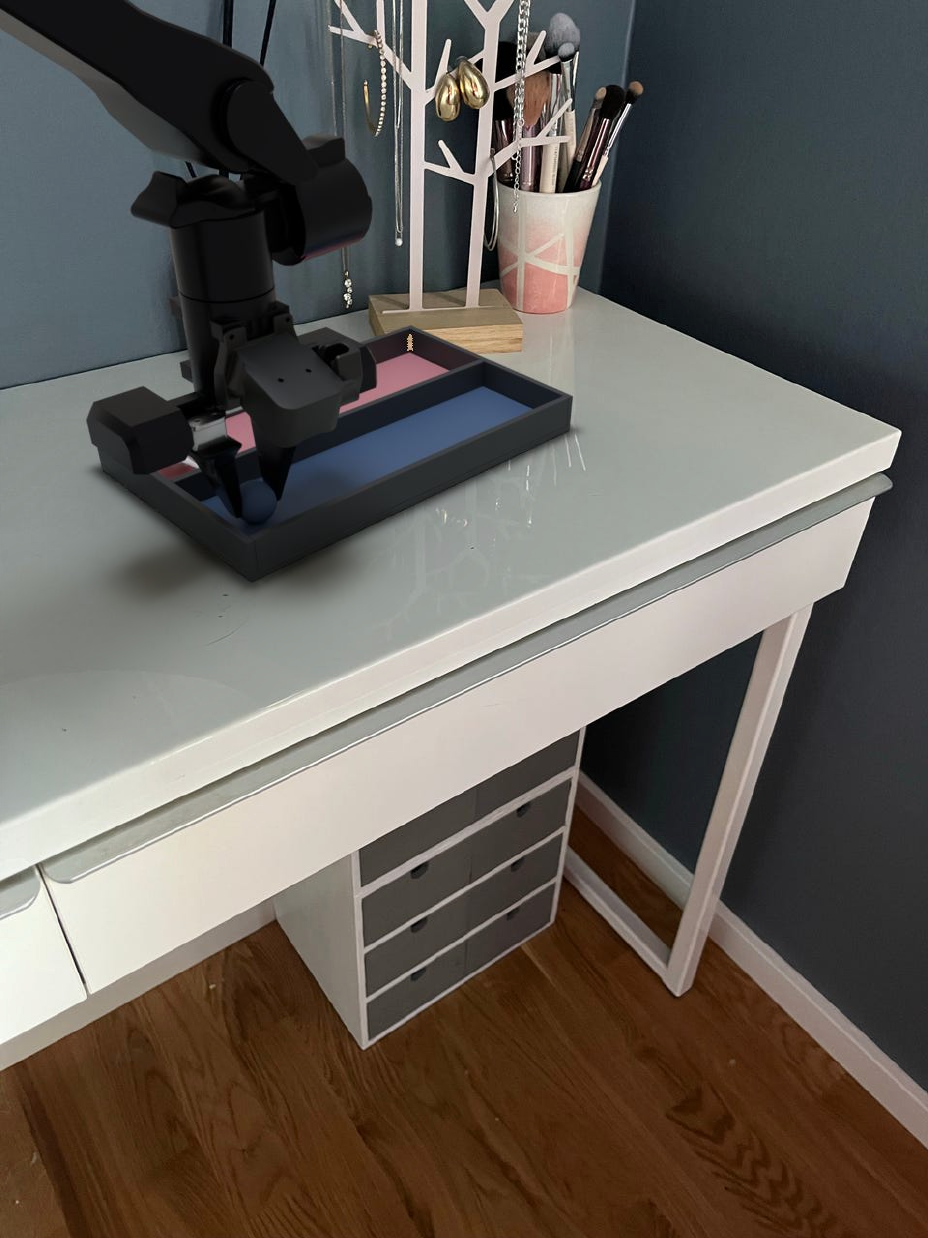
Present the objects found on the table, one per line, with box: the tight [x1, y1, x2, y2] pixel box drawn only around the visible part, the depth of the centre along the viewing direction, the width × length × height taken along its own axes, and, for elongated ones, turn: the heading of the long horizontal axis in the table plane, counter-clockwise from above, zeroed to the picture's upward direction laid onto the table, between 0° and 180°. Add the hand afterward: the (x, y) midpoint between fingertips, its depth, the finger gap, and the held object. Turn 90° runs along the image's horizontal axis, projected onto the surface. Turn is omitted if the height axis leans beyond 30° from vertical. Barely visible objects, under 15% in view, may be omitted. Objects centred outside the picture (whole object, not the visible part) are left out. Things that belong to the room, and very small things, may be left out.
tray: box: [96, 324, 574, 583], centre depth 79 cm, size 32×20×3 cm, turn 134°
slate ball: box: [240, 480, 277, 523], centre depth 69 cm, size 3×3×3 cm
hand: (255, 507), depth 69 cm, fingers closed on slate ball, 3 cm apart
